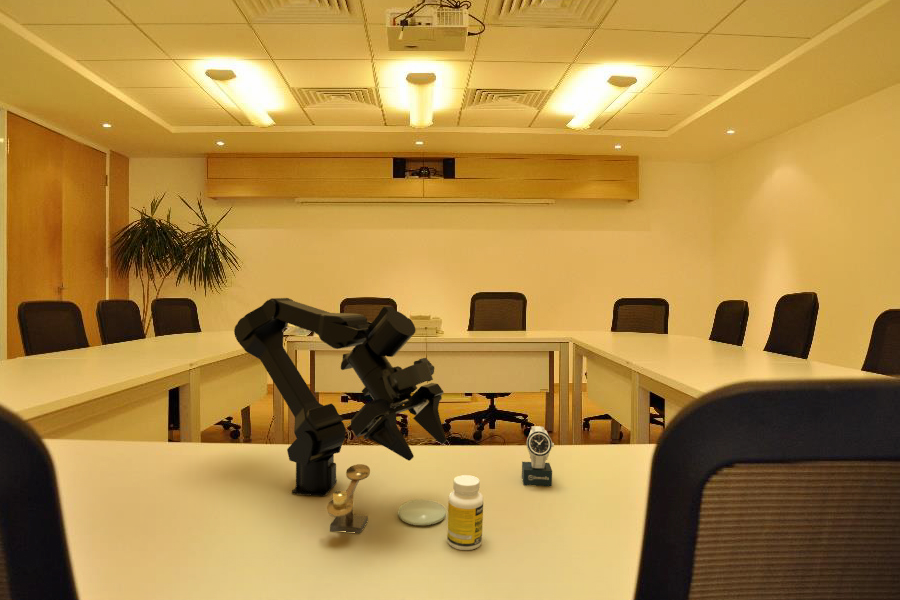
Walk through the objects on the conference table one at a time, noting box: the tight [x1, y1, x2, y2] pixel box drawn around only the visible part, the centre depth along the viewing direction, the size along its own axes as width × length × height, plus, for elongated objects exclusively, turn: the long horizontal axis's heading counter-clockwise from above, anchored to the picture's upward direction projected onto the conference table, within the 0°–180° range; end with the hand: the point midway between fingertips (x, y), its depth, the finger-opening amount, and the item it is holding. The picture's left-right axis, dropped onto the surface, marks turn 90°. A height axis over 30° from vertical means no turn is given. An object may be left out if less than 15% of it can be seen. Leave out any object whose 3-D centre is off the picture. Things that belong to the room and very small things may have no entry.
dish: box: [398, 499, 447, 526], centre depth 86 cm, size 8×8×1 cm
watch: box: [521, 425, 555, 487], centre depth 101 cm, size 6×8×11 cm
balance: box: [326, 463, 371, 534], centre depth 82 cm, size 5×13×8 cm, turn 173°
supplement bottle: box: [446, 474, 484, 551], centre depth 78 cm, size 5×5×10 cm
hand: (428, 450), depth 81 cm, fingers open, 9 cm apart
